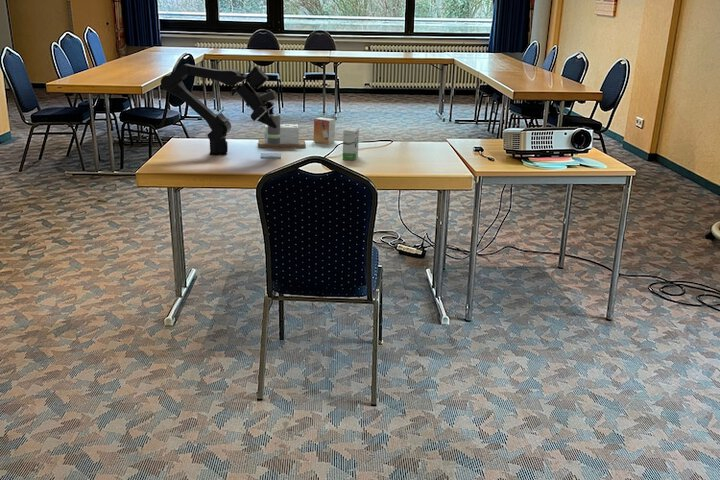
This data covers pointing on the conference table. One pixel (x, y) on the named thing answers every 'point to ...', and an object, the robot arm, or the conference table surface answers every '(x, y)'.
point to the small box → (324, 130)
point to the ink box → (350, 143)
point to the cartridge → (274, 130)
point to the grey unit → (284, 138)
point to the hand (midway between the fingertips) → (277, 126)
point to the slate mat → (270, 155)
